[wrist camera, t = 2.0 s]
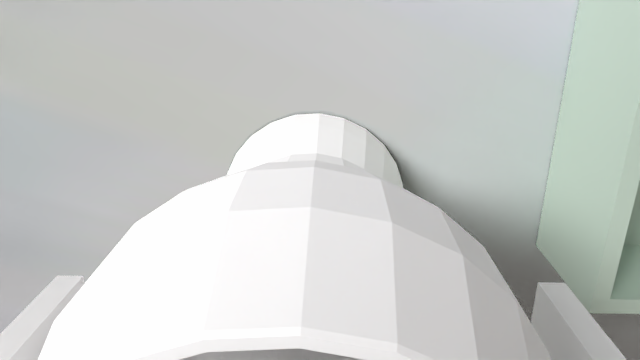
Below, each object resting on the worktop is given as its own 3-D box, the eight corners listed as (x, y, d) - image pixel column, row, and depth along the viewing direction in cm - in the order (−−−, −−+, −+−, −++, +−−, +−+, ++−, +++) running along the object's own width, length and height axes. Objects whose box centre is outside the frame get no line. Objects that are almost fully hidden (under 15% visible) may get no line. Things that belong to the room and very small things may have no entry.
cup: (472, 250, 23) (700, 679, 9) (265, 333, 25) (178, 797, 11) (376, 29, 19) (496, 151, 5) (144, 145, 21) (-218, 461, 7)
